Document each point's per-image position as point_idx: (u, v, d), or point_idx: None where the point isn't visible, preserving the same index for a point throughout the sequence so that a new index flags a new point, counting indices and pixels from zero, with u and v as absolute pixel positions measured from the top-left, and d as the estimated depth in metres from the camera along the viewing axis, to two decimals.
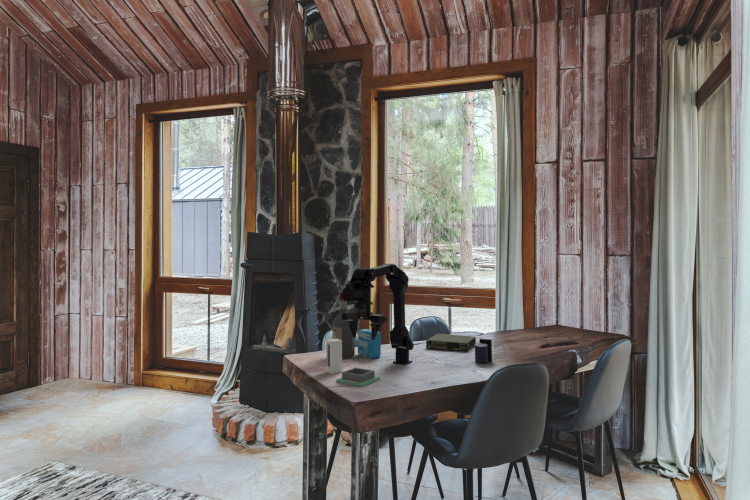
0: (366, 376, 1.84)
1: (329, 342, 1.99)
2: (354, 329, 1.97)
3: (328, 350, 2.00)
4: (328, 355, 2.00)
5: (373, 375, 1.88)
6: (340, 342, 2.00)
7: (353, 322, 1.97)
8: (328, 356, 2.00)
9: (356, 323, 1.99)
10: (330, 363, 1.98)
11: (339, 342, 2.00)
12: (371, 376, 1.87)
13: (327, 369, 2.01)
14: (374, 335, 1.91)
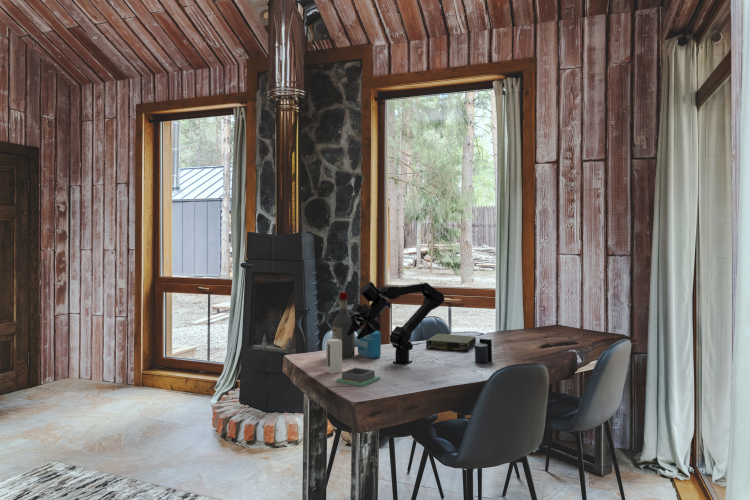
0: (366, 376, 1.84)
1: (329, 342, 1.99)
2: (352, 329, 2.10)
3: (328, 350, 2.00)
4: (328, 355, 2.00)
5: (373, 375, 1.88)
6: (340, 342, 2.00)
7: (356, 323, 2.12)
8: (328, 356, 2.00)
9: (357, 327, 2.12)
10: (330, 363, 1.98)
11: (339, 342, 2.00)
12: (371, 376, 1.87)
13: (327, 369, 2.01)
14: (360, 335, 2.01)
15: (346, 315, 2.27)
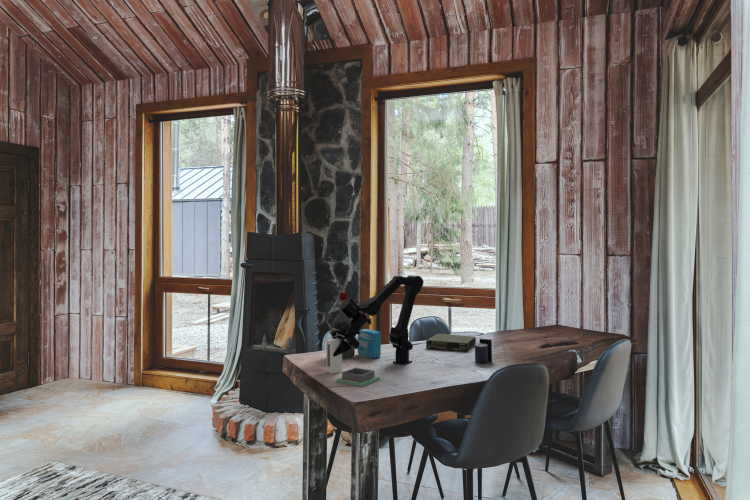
0: (366, 376, 1.84)
1: (329, 342, 1.99)
2: None
3: (328, 350, 2.00)
4: (328, 355, 2.00)
5: (373, 375, 1.88)
6: None
7: None
8: (328, 356, 2.00)
9: None
10: (330, 362, 1.98)
11: (339, 342, 2.00)
12: (371, 376, 1.87)
13: (327, 369, 2.01)
14: (337, 352, 1.98)
15: None
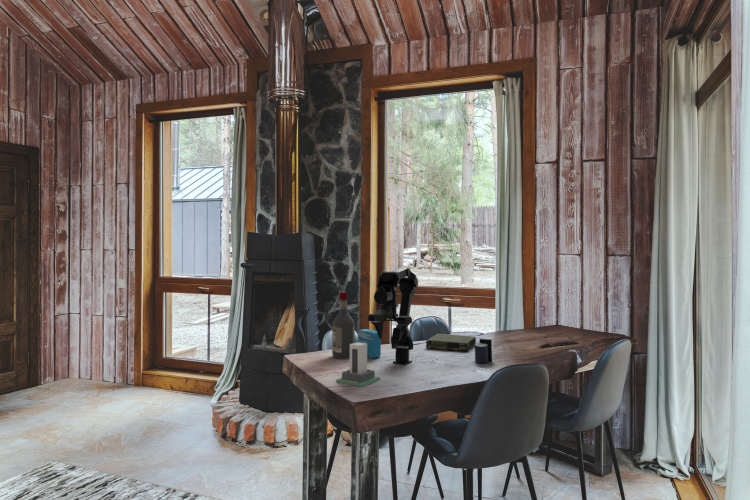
0: (366, 376, 1.84)
1: (356, 346, 1.85)
2: (380, 330, 2.05)
3: (354, 355, 1.85)
4: (353, 361, 1.86)
5: (373, 375, 1.88)
6: (366, 345, 1.88)
7: (379, 323, 2.05)
8: (354, 362, 1.85)
9: (382, 324, 2.06)
10: (359, 368, 1.84)
11: (365, 345, 1.87)
12: (371, 376, 1.87)
13: None
14: (400, 336, 1.99)
15: (346, 315, 2.27)
